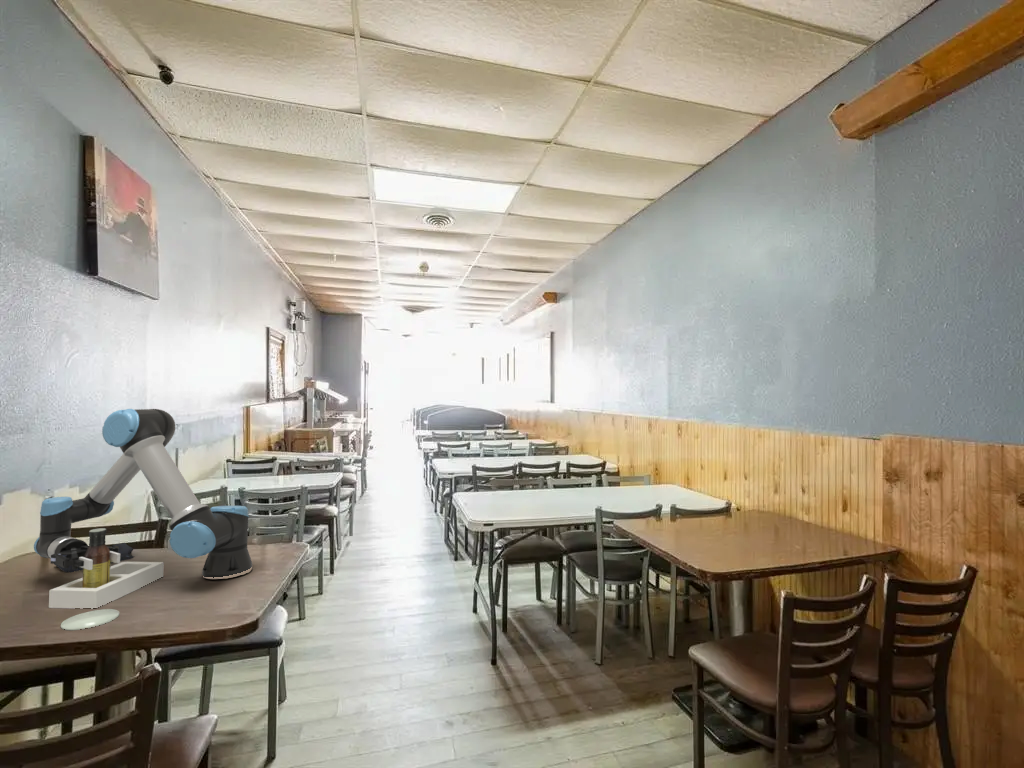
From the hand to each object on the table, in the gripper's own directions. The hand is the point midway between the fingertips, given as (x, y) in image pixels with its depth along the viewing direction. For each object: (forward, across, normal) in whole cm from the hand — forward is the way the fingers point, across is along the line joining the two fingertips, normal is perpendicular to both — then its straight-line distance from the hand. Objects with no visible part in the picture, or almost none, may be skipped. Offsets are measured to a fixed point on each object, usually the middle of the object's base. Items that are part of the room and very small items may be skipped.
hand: (105, 561), depth 146 cm
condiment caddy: (-7, -5, -12) cm, 15 cm away
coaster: (+12, +8, -12) cm, 18 cm away
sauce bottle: (-5, 0, -11) cm, 12 cm away
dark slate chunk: (-46, -17, -12) cm, 51 cm away
